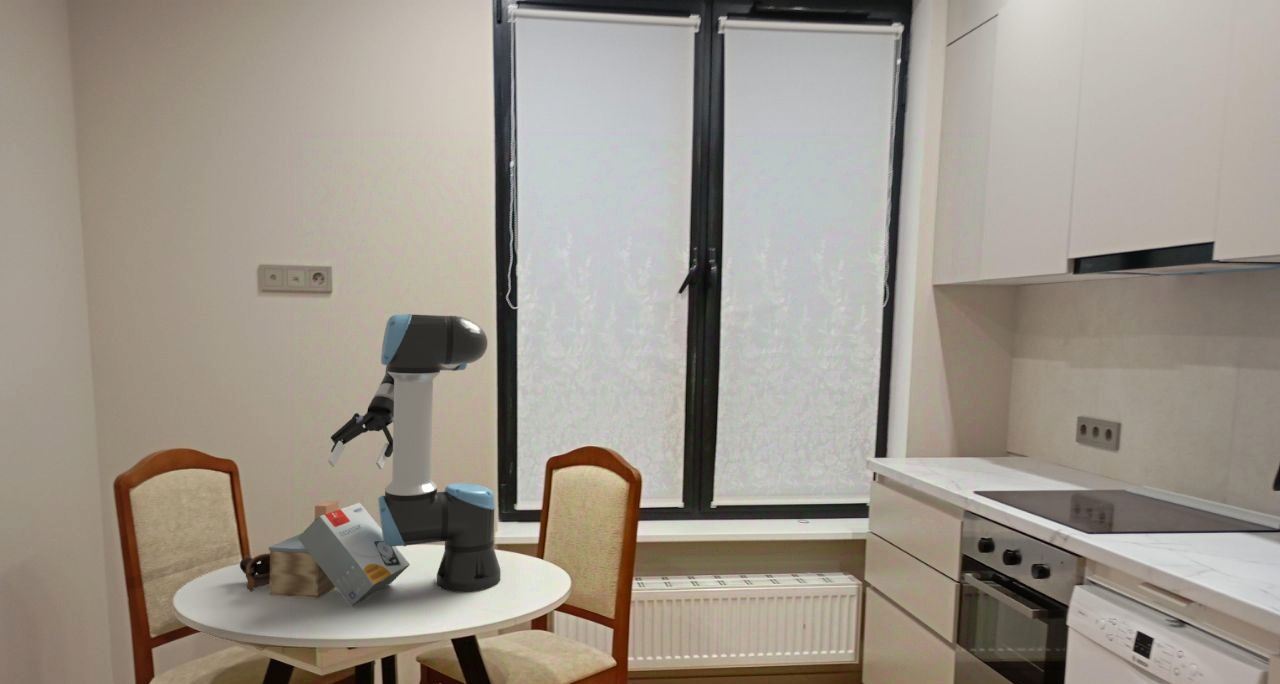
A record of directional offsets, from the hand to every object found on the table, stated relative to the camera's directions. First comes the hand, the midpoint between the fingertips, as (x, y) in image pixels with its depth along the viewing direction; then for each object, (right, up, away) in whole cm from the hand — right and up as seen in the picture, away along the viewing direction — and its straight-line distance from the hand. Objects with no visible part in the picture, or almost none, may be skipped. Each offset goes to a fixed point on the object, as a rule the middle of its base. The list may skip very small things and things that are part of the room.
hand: (354, 465), depth 174 cm
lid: (-2, -15, -17) cm, 23 cm away
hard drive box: (+17, -23, -24) cm, 37 cm away
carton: (-2, -25, -17) cm, 31 cm away
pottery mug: (-15, -26, -17) cm, 34 cm away
